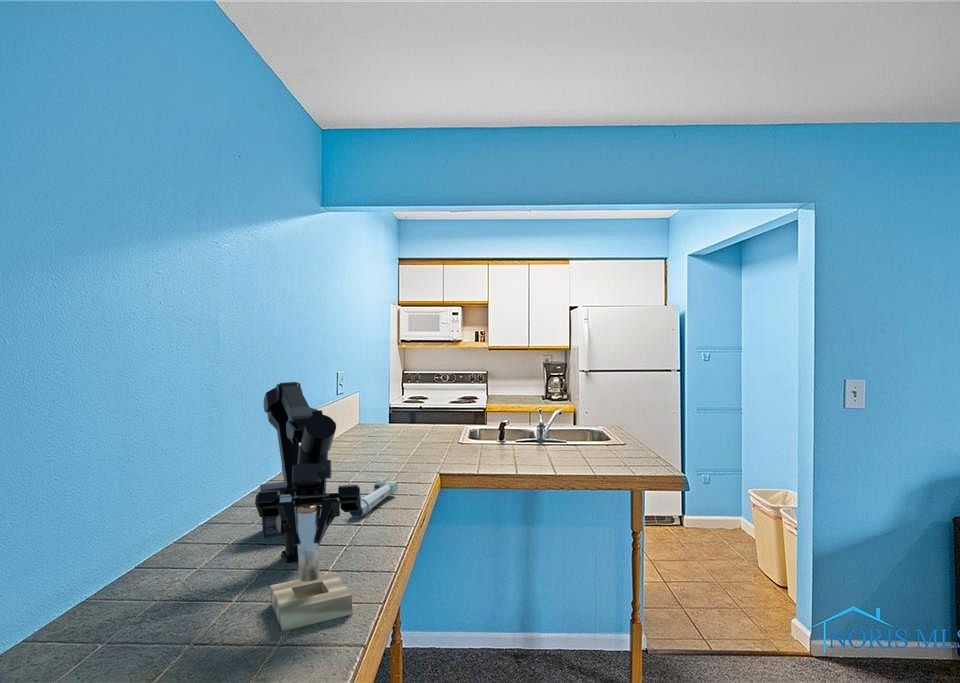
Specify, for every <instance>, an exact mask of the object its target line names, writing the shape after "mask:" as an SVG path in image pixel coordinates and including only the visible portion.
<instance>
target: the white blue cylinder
mask: <svg viewBox="0 0 960 683" xmlns="http://www.w3.org/2000/svg"><path fill="white" fill-rule="evenodd" d="M398 490H399V484H398V483H397V482H396V481H392V480H390V478H388V477H385V478H379V479H376V483H374V487H373V491H372V492H370V493H369V494H367V495H365V496H363V497H361V510H360V511H358V512H349V515H351V517H352V518H355V519H356V518H357V519H358V518H360V517H362V516H366V515H367V514H368V513H369V512H370V510H372V509H373V508H374V507H376V506H377V505H378V504H380V502H381V501H383V500H384V499H385V498H387V497H388V496H389V495H395V494H397V493H398V492H397V491H398Z"/></svg>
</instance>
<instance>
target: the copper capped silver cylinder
mask: <svg viewBox="0 0 960 683" xmlns="http://www.w3.org/2000/svg"><path fill="white" fill-rule="evenodd" d="M296 514H297V540H298V560H297V562H298V563H297V564H298V580H300V581H304V582H307V581H313V580H316V579H318V578H319V577H320V575H321V574H320V553H319V552H320V550H319V549H320V548H319V544H317V532H318V521H317V504H313V503H307V504H301V505H298V506H297V507H296Z"/></svg>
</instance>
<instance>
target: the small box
mask: <svg viewBox="0 0 960 683" xmlns="http://www.w3.org/2000/svg"><path fill="white" fill-rule="evenodd" d="M259 486H260V487H259V489H260V491H266V490H279V492H280V495H283V493H284V491H285V484H284V481H281V482H279V481H278V482H272V483H263V484H260V485H259ZM260 491H259V492H260ZM284 524H285V523H284ZM261 526H262V537H263V538H264V539H266V538H271V537H272V538H273V537H279V535H280V536H285V533H283V534H280V532H279V531H278V530H277V525H276V517H273V518H261Z"/></svg>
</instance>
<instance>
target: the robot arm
mask: <svg viewBox="0 0 960 683" xmlns="http://www.w3.org/2000/svg"><path fill="white" fill-rule="evenodd" d="M263 408H264V413H266V415H267V421H268V422H269V424H270V425H271V426H272V427H273V428H274V429H275V430H276V433H277V441H278V448H279V454H280V455H279V456H280V460H281V468H282V474H283V482H284V484H285V491H284V493H283V495H280V492H279V490H266V491H258V493H257V494H256V495H255V501H254V505H255V507H256V509H257V510H256V511H257V512H258V516H259V518H261V519H262V518H273V517H276V525H277V530H278V531H279V532H280V534H283V533H285V535H284V548H285V550H282V551H281V555H282V556H283V558H284V560H285V562H287V563H288V562H294V561H298V540H297V514H296V507H297V506H298V505H301V504H307V503H313V504H317V521H318V532H317V544H318V545H319V544H321V542H322V541H323V538H324V536H325V534H326V532H327V530H328V528H329V526H330V525H331V523H332V522H333V521H334V519H335V518H337V517H340V516H341V511H342V512H344V513H350V512H358V511H360V510H361V499H362V495H361V494H362V493H361V487H360V486H359V485H358V484H347V485H338V487H337V488H338V489H337V492H336V493H335V492H334V493H327V479H332V460H331V459H328V458H329V451H330V450H331V447H332V444H333V440H334V438H335V434H336V431H337V430H336V429H337V424H336V421H334V419H333V418H331V417H330V416H328V415H326V414H323V410H320V409H317V408H314V407H313V408H312V407H310V405H309V403H308V402H307V400H306V398H305V396H304V394H303V389H302V387H301V383H300V382H297V381H290V382H289V381H287V382H280V383H277V384H276V385H275V387H273V388H272V389H270V390H267V392H265V394H264V397H263ZM284 523H285V524H284Z"/></svg>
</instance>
